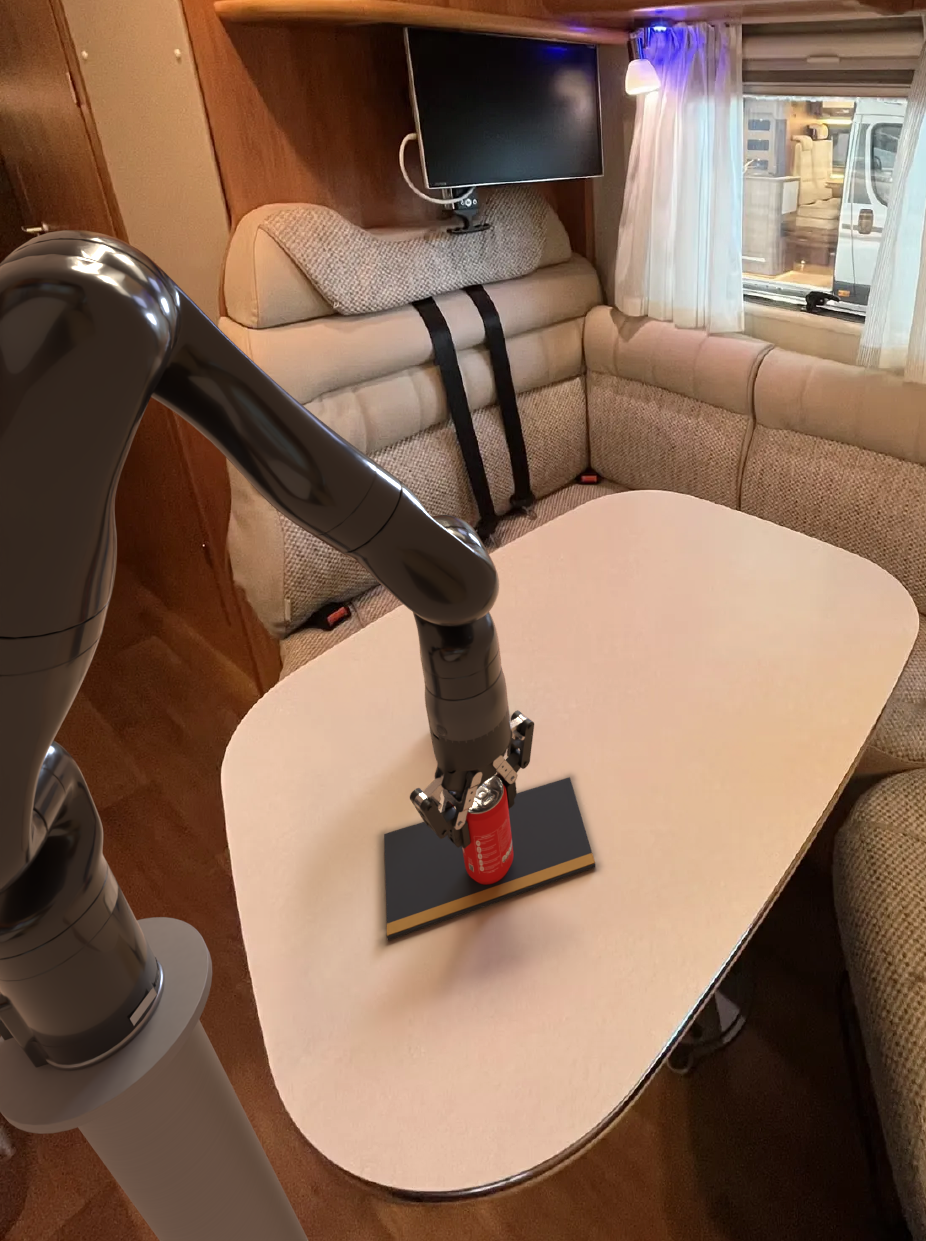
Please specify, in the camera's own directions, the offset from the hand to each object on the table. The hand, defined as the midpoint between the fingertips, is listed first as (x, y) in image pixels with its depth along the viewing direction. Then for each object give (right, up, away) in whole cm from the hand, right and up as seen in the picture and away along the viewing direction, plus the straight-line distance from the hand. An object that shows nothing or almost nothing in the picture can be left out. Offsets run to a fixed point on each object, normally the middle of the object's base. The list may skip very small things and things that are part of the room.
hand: (484, 821), depth 78 cm
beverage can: (0, -7, +3) cm, 8 cm away
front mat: (-1, -6, +5) cm, 8 cm away
